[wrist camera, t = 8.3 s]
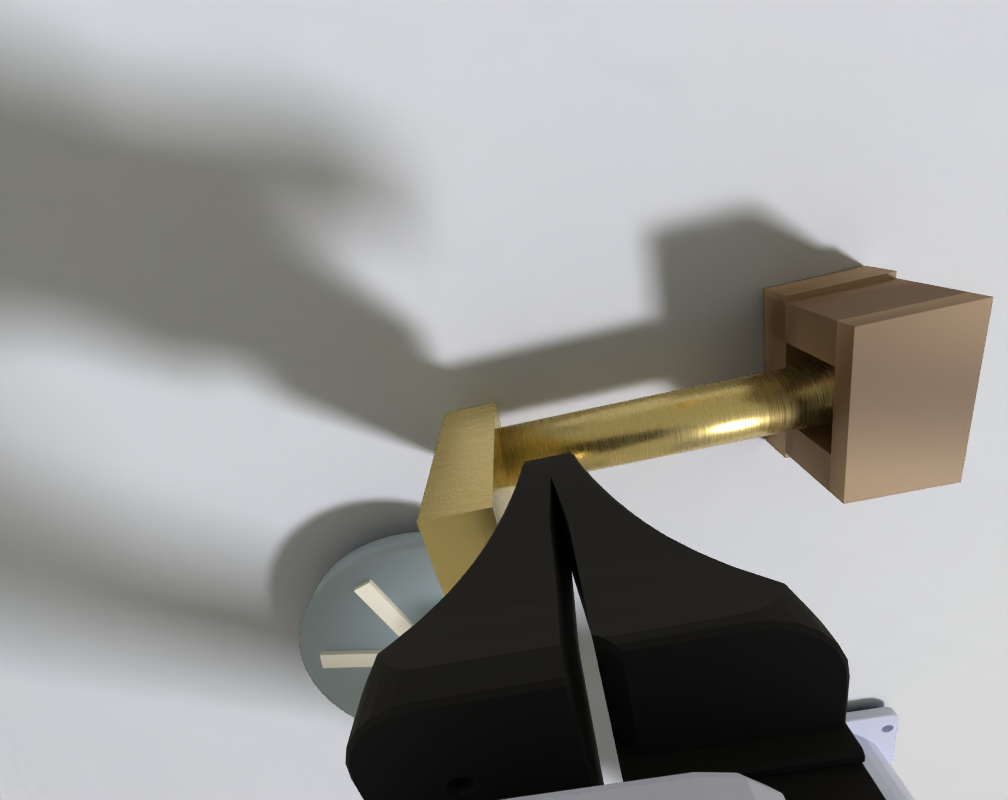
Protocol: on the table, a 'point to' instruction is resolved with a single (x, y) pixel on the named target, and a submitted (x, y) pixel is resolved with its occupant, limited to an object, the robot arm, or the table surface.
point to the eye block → (881, 377)
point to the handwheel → (365, 613)
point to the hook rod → (598, 446)
